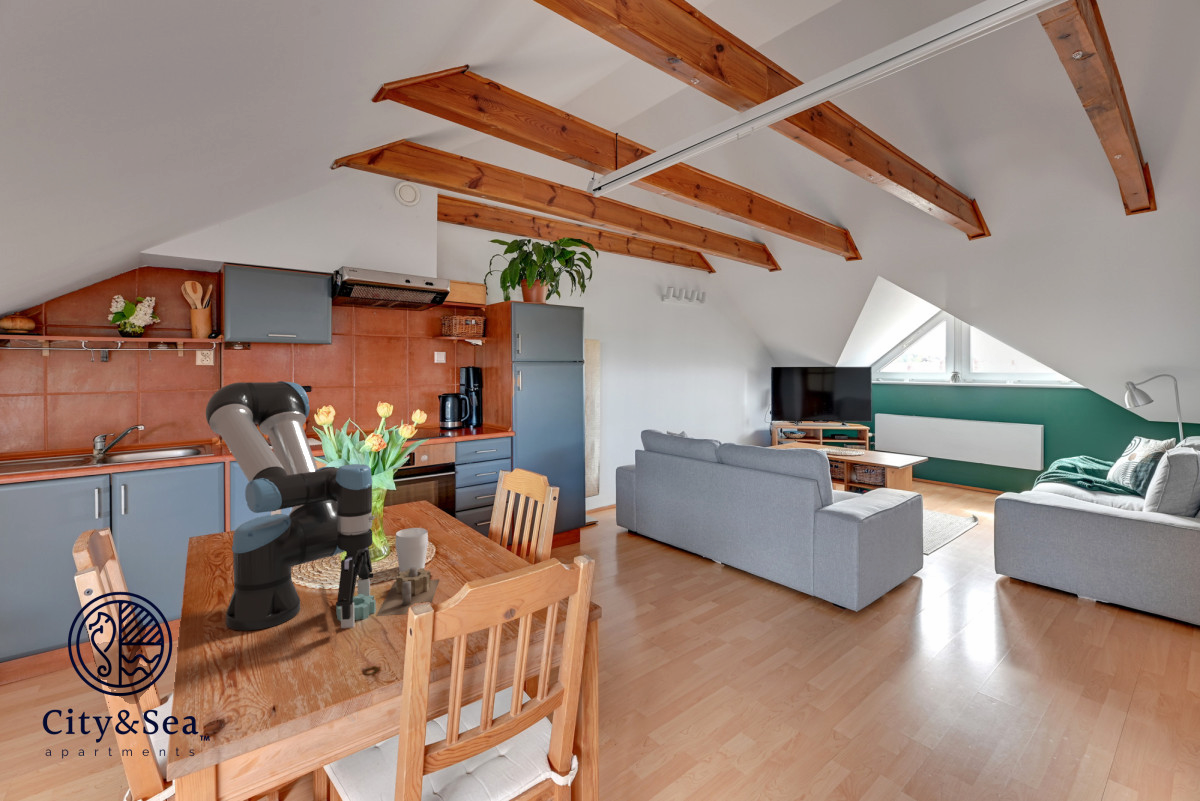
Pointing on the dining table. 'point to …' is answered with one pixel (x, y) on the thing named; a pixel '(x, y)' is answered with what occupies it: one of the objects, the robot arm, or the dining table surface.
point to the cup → (411, 548)
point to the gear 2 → (414, 581)
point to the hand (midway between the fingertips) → (356, 617)
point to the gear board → (398, 600)
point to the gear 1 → (360, 607)
